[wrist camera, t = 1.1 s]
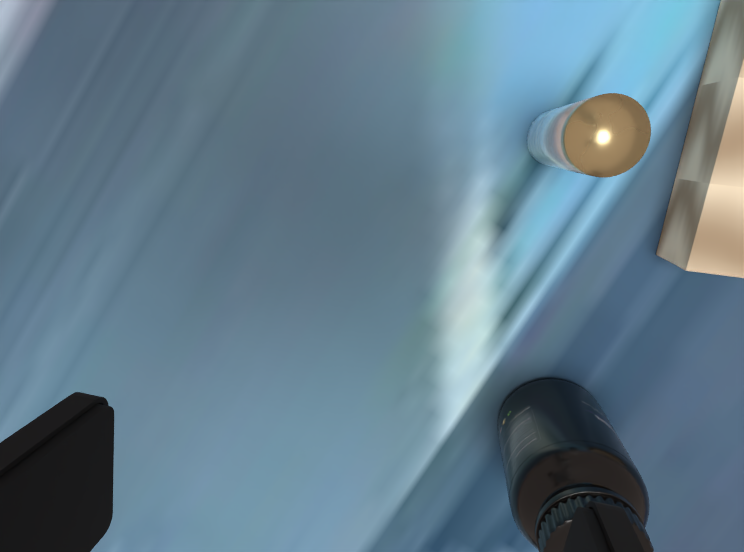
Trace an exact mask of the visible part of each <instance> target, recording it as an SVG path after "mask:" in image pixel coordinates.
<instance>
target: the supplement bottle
mask: <svg viewBox="0 0 744 552" xmlns="http://www.w3.org/2000/svg"><path fill="white" fill-rule="evenodd" d="M498 434H499V442H500V448H501V454H502V460H503V466H504V472H505V478H506V484H507V490H508V496H509V502H510V507H511V511H512V515H513V518H514V521H515V523H516V525H517V527H518V529H519V530H520V532H521V533H522V535H523V536H524V537H525V538H526V540H527V541H528V542H529V543H530V544H531V545H533V546H534V547H535V548H536V549H538V550H539V552H563V549H564V546H565V543H566V539H567V536H568V533H569V530H570V526H571V523H572V520H573V516H574V513H575V511H576V509H577V507H584V508H585V507H586V505H587V503H588V502H589V501H594V502H599V503H604V504H609V505H613V506H618V507H621V508H623V509H624V511H625V512H626V514H627V516H628V518H629V520H630V522H631V524H632V526H633V528H634V530H635V532H636V534H637V537H638V539H639V541H640V543H641V545H642V547H643V549H644V551H645V552H653V546H652V544H651V542H650V538H649V536H648V534H647V532H646V530H645V527H646V524H647V520H648V515H649V497H648V492H647V489H646V486H645V484H644V482H643V479H642V477H641V475H640V474H639V472H638V470H637V468H636V467H635V465H634V463H633V461H632V460H631V458H630V456H629V455H628V453H627V451H626V449H625V448H624V446H623V444H622V443H621V441H620V439H619V437H618V436H617V434H616V432H615V431H614V429H613V427H612V425H611V424H610V422H609V420H608V419H607V417H606V415H605V413H604V412H603V410H602V409H601V407H600V405H599V404H598V403H597V401H596V400H595V399H594V398H593V397H592V395H590V394H589V393H588V392H587V391H586V390H584V389H583V388H581V387H579V386H577V385H575V384H573V383H570V382H567V381H563V380H557V379H545V380H538V381H534V382H531V383H528V384H526V385H524V386H522V387H521V388H519V389H518V390H516V391H515V392H514V393H513V394H512V395H511V396H510V397H509V398H508V399H507V400H506V402H505V403H504V405H503V407H502V409H501V412H500V415H499V419H498Z"/></svg>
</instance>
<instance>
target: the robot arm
mask: <svg viewBox="0 0 744 552" xmlns="http://www.w3.org/2000/svg"><path fill="white" fill-rule="evenodd" d="M113 455H114V410H113V408H112V407H110V406H108V402H107V400H106V399H105V398H104V397H99V396H94V395H90V394H85V393H80V392H75V393H73V394H71V395H70V396H68V397H67V398H65V399H64V400H62V401H61V402H59V403H58V404H57V405H55V406H54V407H52V408H51V409H49V410H48V411H46V412H45V413H43V414H42V415H40V416H39V417H37V418H36V419H35V420H33V421H32V422H30V423H29V424H27V425H26V426H24V427H23V428H21V429H20V430H18V431H17V432H15V433H14V434H12V435H11V436H10V437H8V438H7V439H5V440H4V441H2V442H1V443H0V552H90V551H91V550H92V549H93V547H94V546H95V545H96V544H97V543H98V542H99V540H100V539H101V538H102V537H103V536H104V534H105V533H106V532H107V530H108V528H109V526H110V523H111V520H112V514H113ZM563 552H645V551H644V549H643V547H642V545H641V543H640V541H639V539H638V537H637V534H636V532H635V530H634V528H633V526H632V524H631V522H630V520H629V518H628V516H627V514H626V512H625V511H624V509H623V508H621V507H618V506H613V505H609V504H604V503H599V502H594V501H589V502H588V503H587V505H586V507H585V508H584V507H577V509H576V511H575V513H574V516H573V520H572V523H571V526H570V530H569V533H568V536H567V539H566V543H565V546H564V549H563Z"/></svg>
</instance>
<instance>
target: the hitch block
mask: <svg viewBox="0 0 744 552" xmlns="http://www.w3.org/2000/svg"><path fill="white" fill-rule="evenodd" d="M656 255H658V256H660V257H662V258H663V259H665V260H667V261H669V262H671V263H673V264H675V265H677V266H678V267H680V268H682V269H684V270H686V271H694V272H702V273H709V274H717V275H725V276H733V277H741V278H744V0H721V2H720V6H719V9H718V13H717V17H716V21H715V25H714V29H713V33H712V37H711V41H710V45H709V49H708V53H707V56H706V60H705V64H704V68H703V72H702V76H701V80H700V84H699V88H698V92H697V96H696V100H695V104H694V107H693V111H692V115H691V119H690V123H689V127H688V131H687V135H686V139H685V143H684V147H683V151H682V155H681V158H680V162H679V166H678V170H677V174H676V178H675V182H674V186H673V190H672V194H671V198H670V202H669V205H668V209H667V213H666V217H665V221H664V225H663V229H662V233H661V237H660V241H659V245H658V249H657V253H656Z"/></svg>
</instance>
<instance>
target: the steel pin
mask: <svg viewBox="0 0 744 552" xmlns="http://www.w3.org/2000/svg"><path fill="white" fill-rule="evenodd" d="M650 135H651V127H650V121H649V118H648V115H647V113H646V111H645V110H644V108H643V107H642V106H641V105H640V104H639V103H638V102H637V101H636V100H634V99H633V98H630V97H628V96H626V95H622V94H617V93H609V94H603V95H599V96H595V97H592V98H589V99H585V100H582V101H579V102H576V103H572V104H569V105H566V106H562V107H559V108H556V109H552V110H549V111H546V112H544V113H542V114H541V115H540V116H538V117H537V118H536V119H535V120H534V122H533V123H532V124H531V126H530V128H529V131H528V135H527V145H528V149H529V151H530V153H531V155H532V156H533V158H534V159H535V160H537V161H538V162H539V163H541V164H544V165H547V166H551V167H556V168H560V169H564V170H569V171H573V172H577V173H582V174H586V175H590V176H595V177H612V176H616V175H619V174H621V173H624V172H626V171H627V170H629V169H630V168H632V167H633V166H634V165H635V164H636V163H637V162H638V161H639V160H640V159H641V158H642V156H643V155H644V153H645V151H646V149H647V147H648V144H649V141H650Z"/></svg>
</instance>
